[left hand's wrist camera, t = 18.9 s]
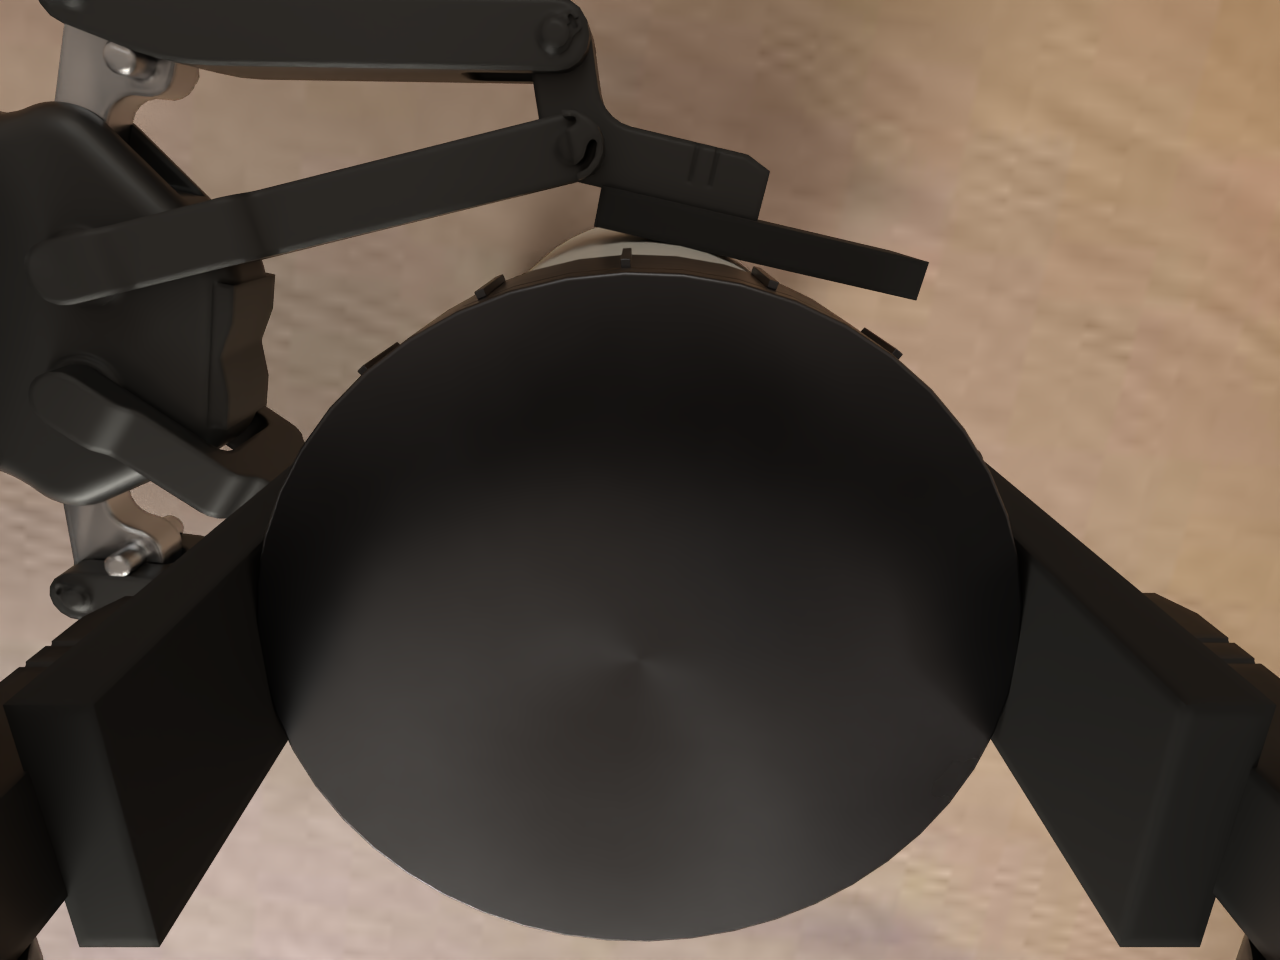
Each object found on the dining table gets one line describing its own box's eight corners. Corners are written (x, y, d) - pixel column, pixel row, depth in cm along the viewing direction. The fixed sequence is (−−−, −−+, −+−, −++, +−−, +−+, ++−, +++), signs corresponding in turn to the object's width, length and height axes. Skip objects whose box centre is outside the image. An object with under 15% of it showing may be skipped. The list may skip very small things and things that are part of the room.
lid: (1002, 234, 10) (1082, 248, 8) (931, 833, 13) (978, 939, 11) (255, 258, 10) (171, 278, 8) (366, 848, 13) (322, 954, 12)
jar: (439, 358, 25) (166, 607, 10) (651, 154, 23) (670, 119, 9) (629, 550, 27) (618, 971, 13) (838, 379, 25) (1102, 650, 11)
